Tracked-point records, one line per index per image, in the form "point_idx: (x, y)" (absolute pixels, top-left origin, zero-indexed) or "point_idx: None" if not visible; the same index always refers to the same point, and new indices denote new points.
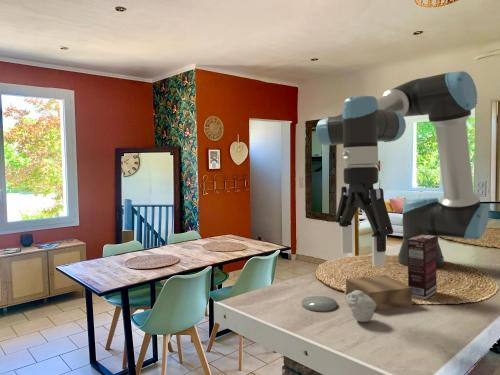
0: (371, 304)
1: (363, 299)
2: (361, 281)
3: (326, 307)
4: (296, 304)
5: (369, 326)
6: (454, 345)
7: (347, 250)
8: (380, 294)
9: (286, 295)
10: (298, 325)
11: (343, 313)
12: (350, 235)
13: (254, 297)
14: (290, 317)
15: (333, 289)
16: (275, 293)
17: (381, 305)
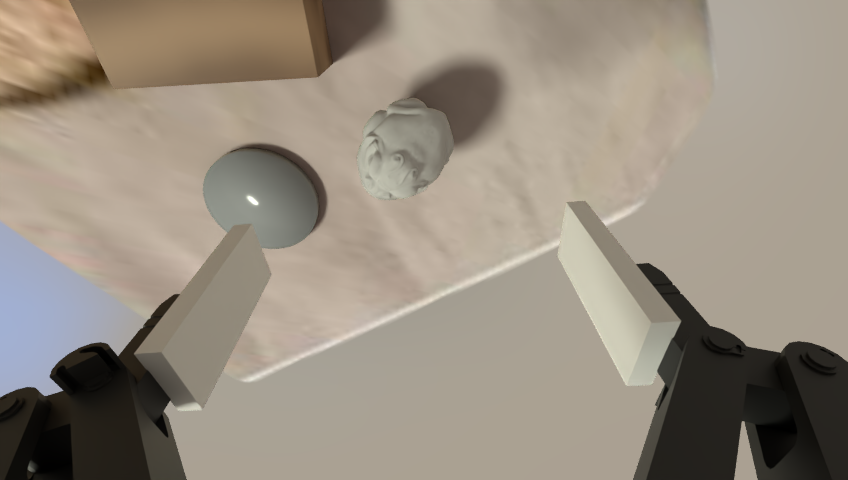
0: (447, 137)
1: (432, 164)
2: (147, 30)
3: (310, 200)
4: None
5: None
6: None
7: (257, 259)
8: (309, 14)
9: (179, 258)
10: (396, 280)
11: (340, 157)
12: (208, 307)
13: None
14: (347, 284)
15: (84, 94)
16: (163, 280)
17: (319, 7)
